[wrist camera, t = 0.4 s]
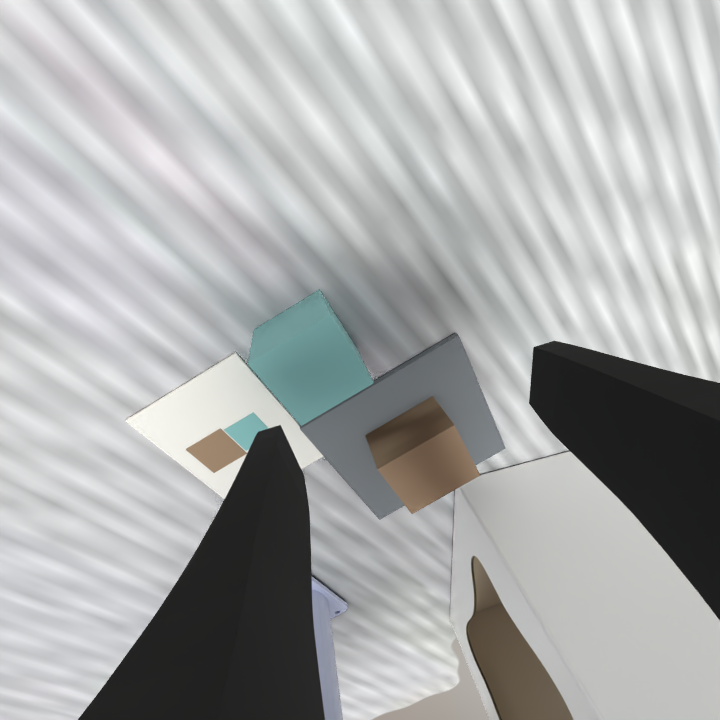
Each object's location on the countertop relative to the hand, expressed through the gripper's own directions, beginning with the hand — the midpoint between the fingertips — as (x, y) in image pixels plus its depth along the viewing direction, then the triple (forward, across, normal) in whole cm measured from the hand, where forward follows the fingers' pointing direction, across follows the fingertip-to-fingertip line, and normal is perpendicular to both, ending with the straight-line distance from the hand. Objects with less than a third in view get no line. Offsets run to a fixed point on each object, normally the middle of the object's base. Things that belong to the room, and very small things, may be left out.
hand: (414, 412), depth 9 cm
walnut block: (+9, -2, +11) cm, 14 cm away
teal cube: (+10, +3, +2) cm, 10 cm away
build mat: (+9, -2, +11) cm, 14 cm away
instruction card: (+9, +9, +6) cm, 14 cm away
